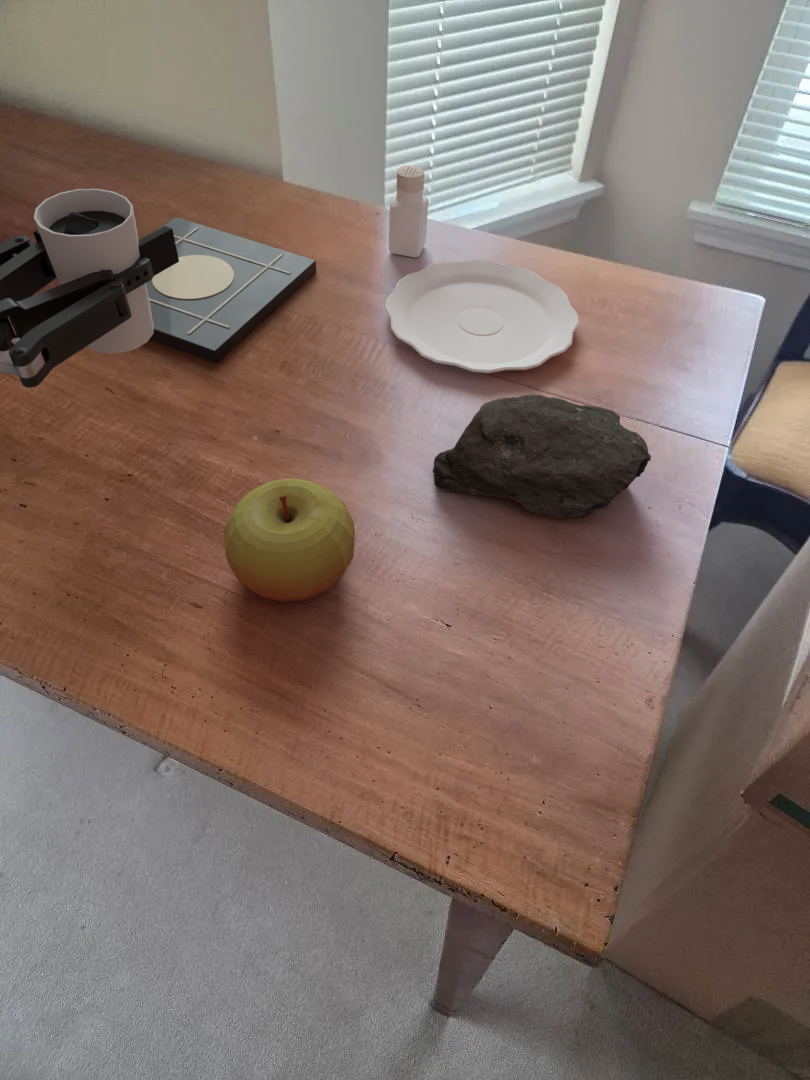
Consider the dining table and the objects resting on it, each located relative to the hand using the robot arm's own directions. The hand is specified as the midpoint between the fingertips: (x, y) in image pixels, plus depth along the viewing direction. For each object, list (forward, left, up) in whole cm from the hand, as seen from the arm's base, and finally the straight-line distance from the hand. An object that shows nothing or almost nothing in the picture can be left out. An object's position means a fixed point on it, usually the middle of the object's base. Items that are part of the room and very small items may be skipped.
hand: (150, 234), depth 59 cm
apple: (+19, -12, -18) cm, 29 cm away
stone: (+33, +6, -18) cm, 38 cm away
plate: (+19, +27, -18) cm, 38 cm away
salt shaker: (+5, +37, -18) cm, 41 cm away
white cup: (-1, -5, -6) cm, 8 cm away
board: (-12, +17, -18) cm, 27 cm away
